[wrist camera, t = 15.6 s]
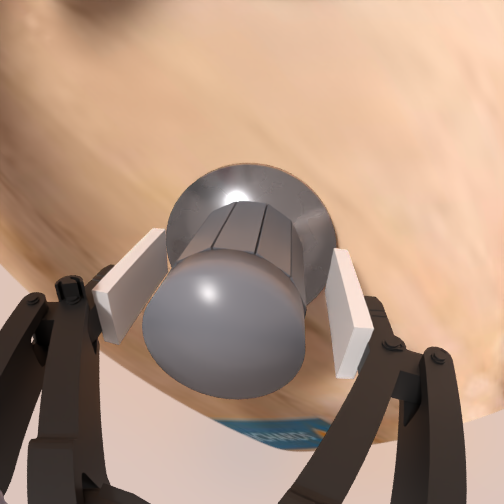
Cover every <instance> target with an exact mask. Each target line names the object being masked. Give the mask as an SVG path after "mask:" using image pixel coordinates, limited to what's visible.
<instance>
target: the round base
mask: <svg viewBox="0 0 504 504" xmlns="http://www.w3.org/2000/svg"><path fill="white" fill-rule="evenodd" d="M238 200H242V201H251V202H260V203H266V206H267V205H268V204H269V205H271V206H272V207H273V208H275V209H276V210H278V211H279V212H280V213H282V214H283V215H285V216H286V217H287V218H289V219H290V220H291V222H293V225H294V227H295V229H296V231H297V234H298V236H299V238H300V241H301V243H302V246H303V260H304V275H305V292H306V305H308V304H309V303H310V302H311V301H312V300H313V299H315V298H316V297H317V295H318V294H319V293H320V292H321V291H322V290H323V288H324V287H325V285H326V283H327V279H328V274H329V270H330V265H331V260H332V255H333V250H334V248H336V236H335V230H334V227H333V224H332V221H331V218H330V215H329V213H328V211H327V209H326V207H325V205H324V204H323V202H322V201H321V199H320V198H319V197H318V195H317V194H316V193H315V192H314V191H313V190H312V189H311V188H310V187H309V186H308V185H307V184H305V183H304V182H303V181H302V180H300V179H299V178H297V177H296V176H294V175H292V174H291V173H288V172H286V171H284V170H282V169H279V168H276V167H273V166H269V165H264V164H258V163H240V164H232V165H228V166H224V167H220V168H218V169H215V170H213V171H211V172H209V173H207V174H205V175H204V176H202V177H200V178H199V179H198V180H197V181H195V182H194V183H193V184H192V185H190V186H189V187H188V188H187V189H186V190H185V191H184V193H183V194H182V195H181V196H180V198H179V199H178V201H177V202H176V203H175V205H174V208H173V210H172V212H171V214H170V217H169V221H168V225H167V231H166V247H167V254H168V258H169V261H170V264H171V267H173V265H174V264H175V262H176V261H177V259H178V258H179V257H180V255H181V254H182V252H183V251H184V249H185V248H186V247H187V245H188V244H189V242H190V241H191V240H192V238H193V237H194V235H195V234H196V233H197V231H198V230H199V228H200V227H201V226H202V224H203V223H204V222H205V220H206V219H207V217H208V216H209V215H210V213H211V212H212V211H214V210H216V209H219V208H221V207H223V206H225V205H228V204H230V203H232V202H234V201H237V202H238Z"/></svg>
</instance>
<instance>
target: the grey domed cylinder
mask: <svg viewBox="0 0 504 504" xmlns="http://www.w3.org/2000/svg"><path fill="white" fill-rule="evenodd" d="M305 315H306V292H305V275H304V260H303V246H302V243H301V241H300V238H299V236H298V234H297V231H296V229H295V227H294V225H293V222H291V220H290V219H289V218H287V217H286V216H285V215H283V214H282V213H280V212H279V211H278V210H276V209H275V208H273V207H272V206H271V205H269V204H268V205H267V206H266V203H260V202H251V201H242V200H238V202H237V201H234V202H232V203H230V204H228V205H225V206H223V207H221V208H219V209H216V210H214V211H212V212H211V213H210V215H209V216H208V217H207V219H206V220H205V222H204V223H203V224H202V226H201V227H200V228H199V230H198V231H197V233H196V234H195V235H194V237H193V238H192V240H191V241H190V242H189V244H188V245H187V247H186V248H185V249H184V251H183V252H182V254H181V255H180V257H179V258H178V259H177V261H176V262H175V264H174V265H173V267H172V269H171V270H170V272H169V274H168V275H167V277H166V278H165V280H164V281H163V283H162V284H161V286H160V287H159V288H158V290H157V291H156V293H155V294H154V296H153V297H152V299H151V300H150V302H149V304H148V305H147V307H146V310H145V312H144V316H143V322H142V330H143V336H144V340H145V343H146V346H147V348H148V350H149V352H150V354H151V356H152V357H153V358H154V360H155V361H156V363H157V364H158V365H159V366H160V367H161V368H162V369H163V370H164V371H165V372H166V373H167V374H168V375H169V376H171V377H172V378H173V379H175V380H176V381H178V382H179V383H181V384H183V385H184V386H186V387H188V388H190V389H192V390H195V391H197V392H200V393H203V394H206V395H209V396H214V397H218V398H225V399H250V398H256V397H260V396H264V395H267V394H270V393H273V392H275V391H277V390H279V389H280V388H282V387H283V386H285V385H286V384H288V383H289V382H290V381H291V380H292V379H293V378H294V377H295V376H296V374H297V373H298V371H299V370H300V368H301V366H302V363H303V361H304V356H305V324H304V319H305Z"/></svg>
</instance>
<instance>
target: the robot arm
mask: <svg viewBox="0 0 504 504" xmlns="http://www.w3.org/2000/svg"><path fill="white" fill-rule="evenodd" d="M167 272H168V267H167V251H166V229H159V228H152V229H151V230H150V231H149V232H148V233H147V234H146V235H145V236H144V237H143V238H142V239H141V240H140V241H139V242H138V243H137V244H136V245H135V246H134V247H133V248H132V249H131V250H130V251H129V252H128V253H127V254H126V255H125V256H124V257H123V258H122V259H121V260H120V261H119V262H118V263H117V264H116V265H109V266H107V267H105V268H103V269H102V270H101V271H100V272H99V273H98V274H97V275H96V276H95V277H94V278H93V280H91V281H90V282H89V283H88V284H87V285H86V286H85V287H84V283H83V279H82V278H81V277H80V276H76V275H70V276H65V277H63V278H61V279H59V280H58V281H57V282H56V283H55V288H56V292H57V295H58V299H59V302H47V301H46V297H45V295H44V294H43V293H39V292H34V293H30V294H28V295H27V296H25V297H24V298H23V299H22V300H21V302H20V303H19V304H18V306H17V307H16V309H15V310H14V311H13V313H12V314H11V315H10V317H9V319H8V320H7V321H6V323H5V324H4V326H3V327H2V329H1V330H0V504H7V503H6V502H5V501H4V495H5V493H6V491H7V489H8V486H9V484H10V482H11V479H12V476H13V473H14V470H15V466H16V463H17V459H18V456H19V452H20V449H21V446H22V442H23V439H24V436H25V433H26V430H27V427H28V424H29V422H30V419H31V416H32V413H33V411H34V408H35V405H36V402H37V400H38V397H39V395H40V392H41V390H42V395H41V404H40V414H39V426H38V436H37V438H36V439H31V440H30V442H29V445H28V459H27V497H28V504H150V503H148V502H147V501H145V500H143V499H141V498H140V497H138V496H136V495H135V494H133V493H130V492H127V491H124V490H121V489H118V488H116V487H113V486H111V485H110V483H109V480H108V478H107V474H106V468H105V460H104V451H103V440H102V428H101V415H100V414H101V413H100V391H99V390H100V389H99V345H100V344H99V341H98V336H99V335H100V333H101V332H102V333H103V337H104V341H106V342H109V343H113V344H117V345H119V344H120V343H121V341H122V340H123V338H124V337H125V335H126V334H127V332H128V330H129V329H130V327H131V326H132V324H133V323H134V321H135V320H136V318H137V317H138V315H139V314H140V312H141V311H142V309H143V308H144V306H145V305H146V303H147V302H148V300H149V299H150V297H151V296H152V294H153V293H154V291H155V290H156V288H157V287H158V285H159V284H160V282H161V281H162V280H163V278H164V277H165V275H166V274H167ZM325 296H326V303H327V310H328V317H329V324H330V332H331V340H332V348H333V356H334V364H335V374H336V378H344V379H354V377H355V375H356V372H357V370H358V374H359V375H358V377H357V379H356V381H355V383H354V385H353V387H352V388H351V390H350V392H349V394H348V396H347V398H346V400H345V402H344V403H343V405H342V407H341V409H340V411H339V412H338V414H337V416H336V418H335V419H334V421H333V423H332V425H331V426H330V428H329V430H328V431H327V433H326V435H325V436H324V438H323V440H322V441H321V443H320V444H319V446H318V448H317V449H316V451H315V452H314V454H313V455H312V457H311V459H310V460H309V462H308V463H307V465H306V466H305V468H304V469H303V471H302V472H301V474H300V475H299V476H298V478H297V479H296V481H295V482H294V484H293V485H292V486H291V488H290V489H289V490H288V491H287V492H286V493H285V495H284V496H283V497H282V499H281V500H280V501H279V502H278V504H342V502H343V500H344V499H345V496H346V495H347V493H348V491H349V489H350V488H351V485H352V484H353V482H354V480H355V478H356V476H357V474H358V472H359V470H360V468H361V466H362V464H363V462H364V460H365V457H366V455H367V453H368V451H369V449H370V447H371V445H372V442H373V440H374V438H375V436H376V433H377V431H378V428H379V426H380V424H381V421H382V419H383V416H384V414H385V411H386V408H387V406H388V403H389V401H390V398H391V397H392V398H396V399H399V425H398V441H397V454H396V465H395V473H394V482H393V489H392V496H391V503H390V504H466V494H467V493H466V492H467V488H466V487H467V486H466V456H465V442H464V431H463V422H462V413H461V406H460V399H459V392H458V386H457V380H456V375H455V370H454V364H453V360H452V358H451V355H450V354H449V353H448V352H447V351H445V350H444V349H442V348H439V347H429V348H427V349H426V350H425V352H424V354H420V353H416V352H412V351H409V350H407V349H406V345H405V343H404V342H403V341H402V340H401V339H400V338H398V337H396V336H395V335H394V334H393V331H392V328H391V326H390V323H389V320H388V318H387V315H386V312H385V310H384V307H383V305H382V303H381V302H380V301H379V300H378V299H377V298H376V297H372V296H363V293H362V290H361V287H360V284H359V281H358V278H357V275H356V272H355V269H354V266H353V263H352V261H351V258H350V255H349V252H348V250H346V249H338V248H334V250H333V255H332V260H331V265H330V270H329V274H328V279H327V283H326V288H325ZM32 336H33V338H34V340H33V342H32V343H31V338H32Z"/></svg>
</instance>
